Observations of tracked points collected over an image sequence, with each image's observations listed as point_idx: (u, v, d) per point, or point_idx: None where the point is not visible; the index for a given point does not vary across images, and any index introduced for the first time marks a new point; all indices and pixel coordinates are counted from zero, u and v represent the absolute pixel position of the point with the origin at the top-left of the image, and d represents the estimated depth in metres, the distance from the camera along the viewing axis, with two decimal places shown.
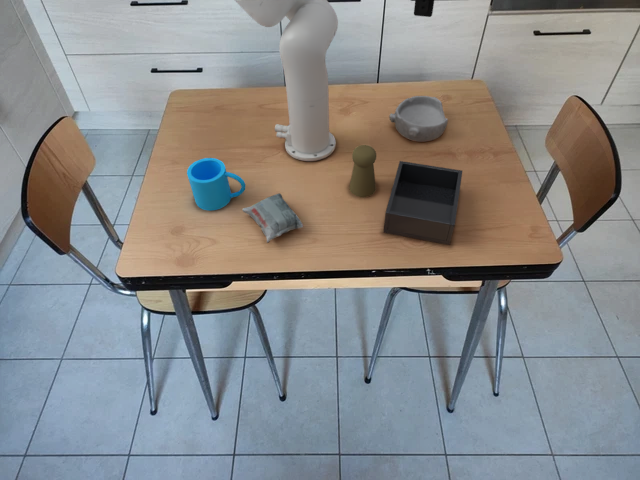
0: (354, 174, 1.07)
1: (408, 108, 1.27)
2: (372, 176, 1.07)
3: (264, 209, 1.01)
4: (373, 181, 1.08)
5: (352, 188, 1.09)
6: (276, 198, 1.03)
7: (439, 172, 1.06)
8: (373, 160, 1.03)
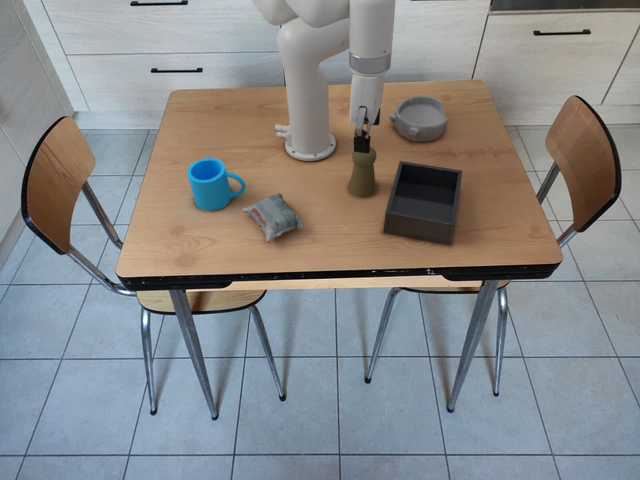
0: (354, 174, 1.07)
1: (408, 108, 1.27)
2: (372, 176, 1.07)
3: (264, 209, 1.01)
4: (373, 181, 1.08)
5: (352, 188, 1.09)
6: (276, 198, 1.03)
7: (439, 172, 1.06)
8: (373, 160, 1.03)
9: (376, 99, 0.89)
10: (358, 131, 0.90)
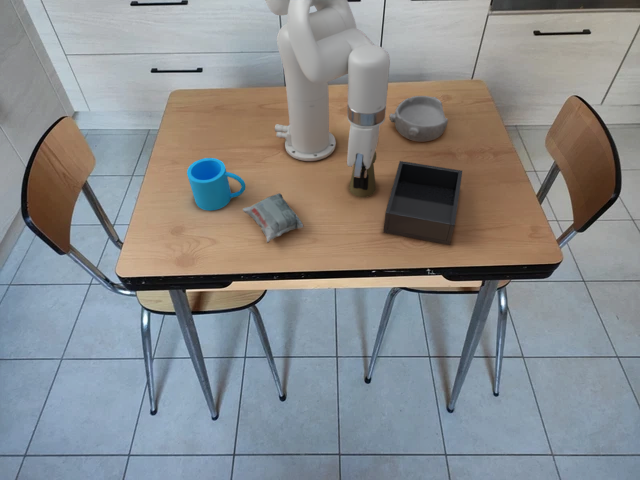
0: None
1: (408, 108, 1.27)
2: (372, 176, 1.07)
3: (264, 209, 1.01)
4: (373, 181, 1.08)
5: (352, 188, 1.09)
6: (276, 198, 1.03)
7: (439, 172, 1.06)
8: (373, 160, 1.03)
9: (372, 147, 0.97)
10: None
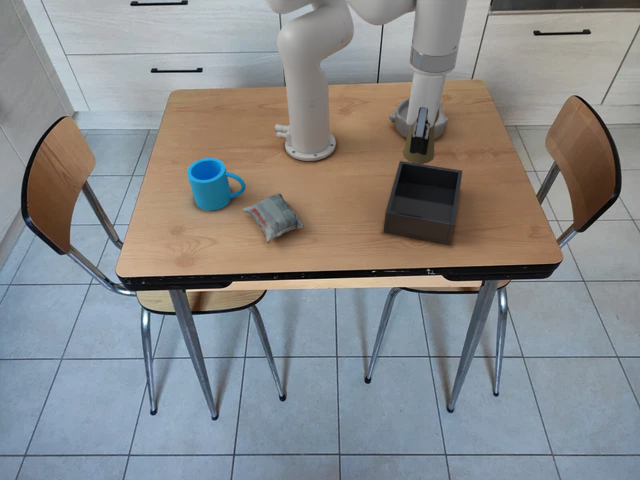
0: (411, 136, 0.91)
1: None
2: (432, 138, 0.91)
3: (264, 209, 1.01)
4: (433, 145, 0.93)
5: (407, 153, 0.94)
6: (277, 198, 1.03)
7: (439, 172, 1.06)
8: (436, 118, 0.88)
9: (438, 100, 0.82)
10: None
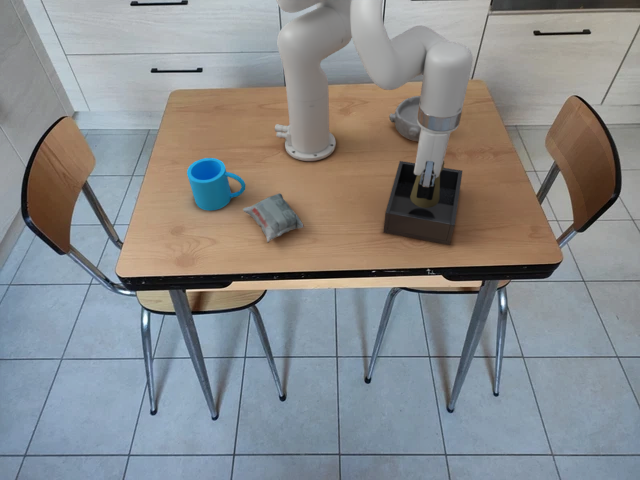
0: (418, 183, 0.98)
1: (408, 108, 1.27)
2: (438, 185, 0.98)
3: (264, 209, 1.01)
4: (438, 190, 0.99)
5: (414, 198, 1.01)
6: (277, 198, 1.03)
7: None
8: (441, 168, 0.94)
9: (444, 154, 0.89)
10: None
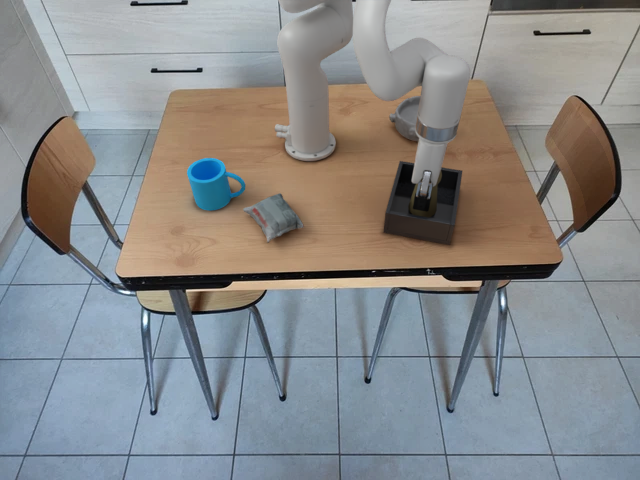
0: None
1: (408, 108, 1.27)
2: (435, 196, 1.00)
3: (264, 209, 1.01)
4: (435, 201, 1.02)
5: (412, 208, 1.03)
6: (277, 198, 1.03)
7: None
8: (439, 180, 0.97)
9: (441, 164, 0.91)
10: (422, 194, 0.91)
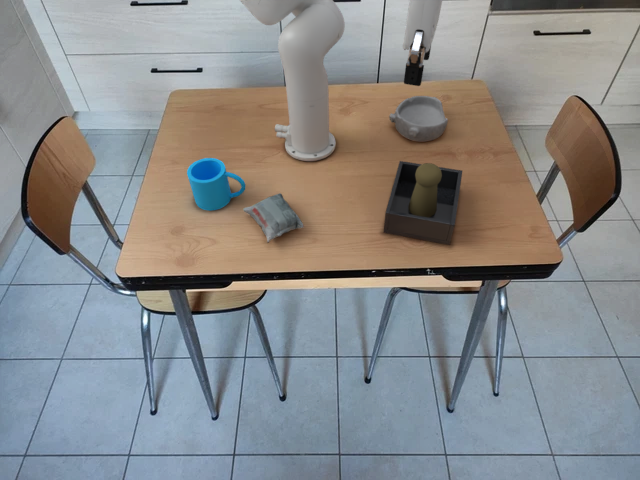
0: (416, 194, 1.00)
1: (408, 108, 1.27)
2: (435, 196, 1.00)
3: (264, 209, 1.01)
4: (435, 201, 1.02)
5: (412, 208, 1.03)
6: (277, 198, 1.03)
7: None
8: (439, 180, 0.97)
9: (434, 22, 0.83)
10: (414, 57, 0.84)
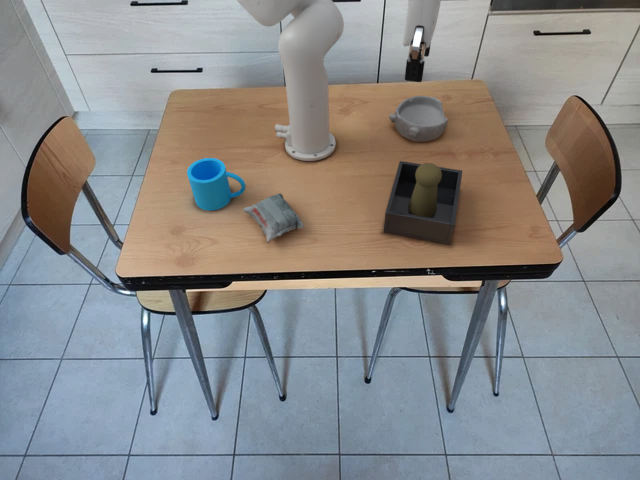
0: (416, 194, 1.00)
1: (408, 108, 1.27)
2: (435, 196, 1.00)
3: (264, 209, 1.01)
4: (435, 201, 1.02)
5: (412, 208, 1.03)
6: (277, 198, 1.03)
7: None
8: (439, 180, 0.97)
9: (434, 18, 0.83)
10: (414, 52, 0.84)
